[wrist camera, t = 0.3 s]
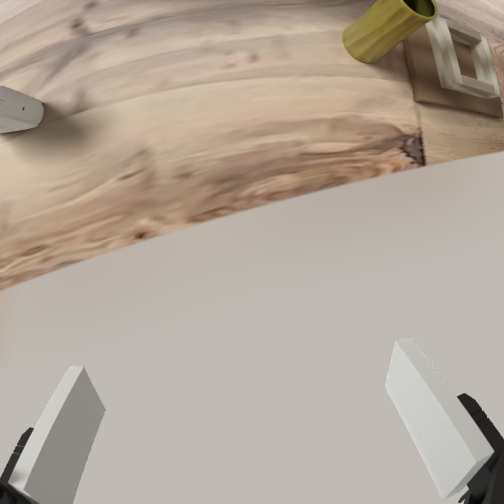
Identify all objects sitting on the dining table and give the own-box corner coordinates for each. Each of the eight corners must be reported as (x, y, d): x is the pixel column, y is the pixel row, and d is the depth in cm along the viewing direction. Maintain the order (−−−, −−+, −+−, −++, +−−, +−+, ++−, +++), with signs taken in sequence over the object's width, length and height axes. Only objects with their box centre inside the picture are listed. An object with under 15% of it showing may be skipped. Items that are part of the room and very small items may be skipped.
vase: (360, 19, 31) (409, -30, 17) (390, 51, 32) (449, 13, 18) (333, 37, 31) (379, -16, 18) (365, 71, 33) (424, 31, 19)
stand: (393, 8, 30) (408, -6, 26) (479, 37, 32) (496, 30, 27) (414, 101, 34) (435, 94, 29) (497, 118, 35) (517, 116, 31)
